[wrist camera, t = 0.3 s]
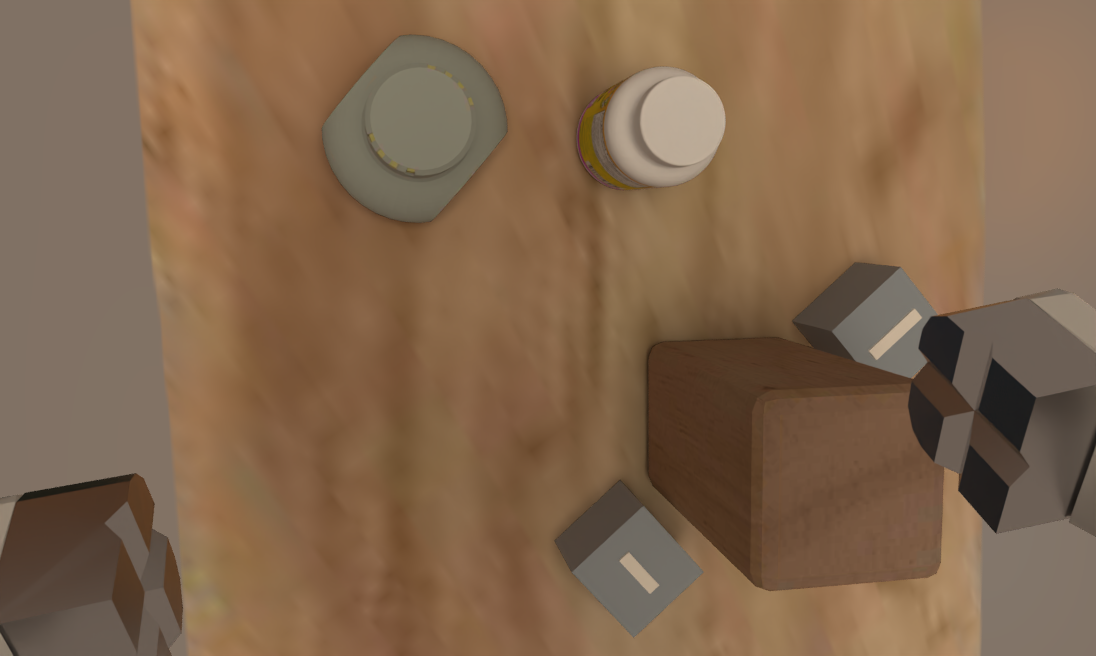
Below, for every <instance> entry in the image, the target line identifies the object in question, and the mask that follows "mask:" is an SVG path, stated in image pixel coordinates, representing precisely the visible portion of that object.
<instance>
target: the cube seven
mask: <svg viewBox="0 0 1096 656" xmlns="http://www.w3.org/2000/svg"><path fill="white" fill-rule="evenodd" d="M555 543H556V545H557V546H558V548H559V550H560V552H561V554H562V555H563V557H564V559H565V561H566V563H567V565H568V566H569V568H570V570H571V572H572V573H573V574H574V575H575V576H576V577H577V578H578V579H579V580H580V582H581V583H582V584H583V585H584V586H585V587H586V588H587V589H588V590H589V591H590V592H591V593H592V594H593V595H594V596H595V597H596V598H597V599H598V601H599V602H600V603H601V604H602V605H603V606H604V607H605V608H606V609H607V610H608V611H609V612H610V613H611V614H612V615H613V616H614V617H615V618H616V620H617V621H618V622H619V623H620V624H621V625H622V626H623V627H624V628H625V629H626V630H627V631H628V632H629V633H630V634H631V635H632V636H633V637H635V636H636V635H637V634H638V633H639V632H640V631H641V630H642V629H644V628H645V627H646V626H647V625H648V624H649V623H650V622H651V621H652V620H653V619H654V618H655V617H656V616H657V615H659V614H660V613H661V612H662V611H663V610H664V609H665V608H666V607H667V606H668V605H669V604H670V603H671V602H672V601H673V600H675V599H676V598H677V597H678V596H679V595H680V594H681V593H682V592H683V591H684V590H685V589H686V588H687V587H688V586H689V585H691V584H692V583H693V582H694V581H695V580H696V579H697V578H698V577H699V576H700V575H701V574H702V573H703V571H702V569H701V568H700V567H699V566H698V565H697V564H696V563H695V562H694V561H693V560H692V558H691V557H690V556H689V555H688V554H687V553H686V552H685V551H684V550H683V549H682V547H681V546H680V545H679V544H678V543H677V542H676V541H675V540H674V539H673V538H672V536H671V535H670V534H669V533H668V532H667V531H666V530H665V529H664V528H663V527H662V525H661V524H660V523H659V522H658V521H657V520H656V519H655V518H654V517H653V515H652V514H651V513H650V512H649V511H648V510H647V509H646V508H645V507H644V506H643V504H642V503H641V502H640V501H639V500H638V499H637V498H636V497H635V496H634V495H633V494H632V493H631V491H630V490H629V489H628V488H627V487H626V486H625V485H624V484H623V483H622V482H621V481H620V480H619V481H618V482H617V483H616V484H615V485H614V486H613V487H612V488H611V489H610V490H609V491H608V492H607V493H605V494H604V495H603V496H602V497H601V498H600V499H599V500H598V501H597V502H596V503H595V504H594V505H592V506H591V507H590V508H589V509H588V510H587V511H586V512H585V513H584V514H583V515H582V516H581V517H579V518H578V519H577V520H576V521H575V522H574V523H573V524H572V525H571V526H570V527H569V528H568V529H567V530H565V531H564V532H563V533H562V534H561V535H560V536H559V537H558V538H557V539H556V540H555Z"/></svg>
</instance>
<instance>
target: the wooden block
mask: <svg viewBox="0 0 1096 656" xmlns="http://www.w3.org/2000/svg"><path fill="white" fill-rule="evenodd" d="M912 380H913V379H911V378H908V377H905V376H902V375H898V374H895V373H892V372H889V371H885V370H882V369H879V368H875V367H872V366H869V365H866V364H862V363H859V362H856V361H853V360H849V359H846V358H843V357H840V356H836V355H833V354H830V353H827V352H823V351H820V350H817V349H814V348H810V347H807V346H804V345H801V344H797V343H794V342H791V341H788V340H784V339H781V338H753V339H727V340H701V341H675V342H662V343H660V344H658V345H656V346H653V347H652V350H651V353H650V355H649V478H650V480H651V482H652V485H653V486H654V487H655V488H656V489H657V490H658V491H659V492H660V493H661V494H662V495H663V496H664V497H665V498H666V499H667V500H668V501H669V502H670V503H671V504H672V505H673V506H674V507H675V508H676V509H677V510H678V511H679V512H680V513H681V514H682V515H683V516H684V517H685V518H686V519H687V520H688V521H689V522H690V523H691V524H692V525H693V526H694V527H696V528H697V529H698V530H699V531H700V532H701V533H702V534H703V535H704V536H705V537H706V538H707V539H708V540H709V541H710V542H711V543H712V544H713V545H714V546H715V547H716V548H717V549H718V550H719V551H720V552H721V553H722V554H723V555H724V556H725V557H726V558H727V559H728V560H729V561H730V562H731V563H732V564H733V565H734V566H735V567H736V568H737V569H739V570H740V571H741V572H742V573H743V574H744V575H745V576H746V577H747V578H748V579H749V580H750V581H751V582H752V583H753V584H754V585H755V586H756V587H759V588H762V589H765V590H768V591H777V590H789V589H801V588H812V587H824V586H836V585H847V584H859V583H871V582H883V581H894V580H906V579H918V578H928V577H930V576H932V575H934V574H936V573H937V571H938V568H939V566H940V563H941V539H942V510H943V482H944V467H943V466H941V465H938V464H936V463H934V462H933V461H932V459H931V458H930V457H929V456H928V455H927V453H926V452H925V451H924V450H923V449H922V447H921V446H920V444H919V442H918V440H917V438H916V436H915V434H914V432H913V430H912V425H911V420H910V415H909V410H908V401H909V394H910V388H911V381H912Z"/></svg>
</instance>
